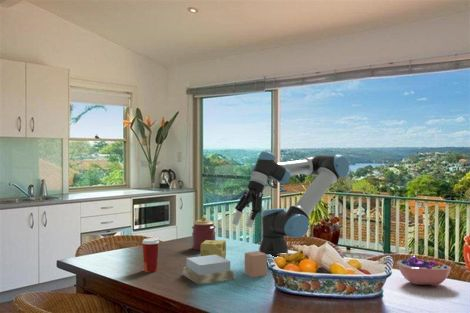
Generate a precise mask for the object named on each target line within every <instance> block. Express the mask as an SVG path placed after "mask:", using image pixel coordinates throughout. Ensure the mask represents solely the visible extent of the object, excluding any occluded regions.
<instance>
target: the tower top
mask: <svg viewBox="0 0 470 313" xmlns="http://www.w3.org/2000/svg"><path fill="white" fill-rule="evenodd" d="M186 267H187V268H188V269H190V270H192V271H193V272H195V273H197V274H198V275H205V274H212V273H218V272H225V271H230V269H231V260H228V259H226V258H225V259H224V258H222V257H220V256H218V255H208V256H201V255H200V256H193V257H186Z"/></svg>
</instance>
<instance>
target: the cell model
mask: <svg viewBox="0 0 470 313" xmlns="http://www.w3.org/2000/svg"><path fill="white" fill-rule="evenodd" d="M396 264H397V267H398V268H399V269H398V270H399V272H400V274H401V275H402V276H403V277H404V278H403V279H405V280H406V281H408V282H410V283H411V284H413V285H416V286H421V285H423V286H425V285H426V286H433V287H435V286H439V285H440V284H442V283H443V282H445V281H446V279H447V278H448V276H449V274H450V272H451V270H452V266H450V265H447V263H446V264H445V263H443V262H440V261H436V260H431V259H420V258H417V255H411V256H409V257H408V258H405V259H399V260H397V262H396Z"/></svg>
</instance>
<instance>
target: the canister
mask: <svg viewBox="0 0 470 313" xmlns="http://www.w3.org/2000/svg"><path fill="white" fill-rule="evenodd" d="M214 224H215V221H213V220H211V219H207V217H206V216H201V219H198V220H197V219H196V220H195V221H194V222H193V226H192V227H191V228H192V233H191V234H192V235H191V237H192V238H191V242H192V243H191V247H192V250H194V251H198V252H199V251H200V252H201V250H200V248H201V244H202V243H203V242H204V241H205V240H216V230H215V229H216V228H217V227H216V225H214Z"/></svg>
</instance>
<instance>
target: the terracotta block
mask: <svg viewBox="0 0 470 313" xmlns="http://www.w3.org/2000/svg"><path fill="white" fill-rule="evenodd" d="M266 255H267V254H265V253H262V252H259V250H258V251H257V250H256V251H250V252H244V274H246V275H248V276H249V277H252V278H256V277H262V276H267V275H268V256H267V257H266Z"/></svg>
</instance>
